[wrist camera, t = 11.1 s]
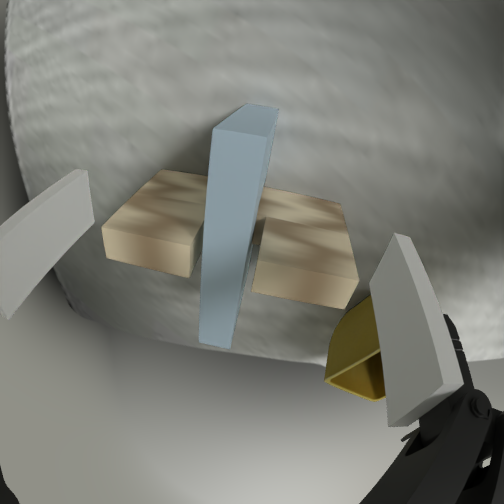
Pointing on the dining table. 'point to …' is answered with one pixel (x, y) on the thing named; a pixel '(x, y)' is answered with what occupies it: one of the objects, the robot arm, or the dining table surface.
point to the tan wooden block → (265, 234)
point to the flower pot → (357, 354)
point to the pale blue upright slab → (232, 216)
